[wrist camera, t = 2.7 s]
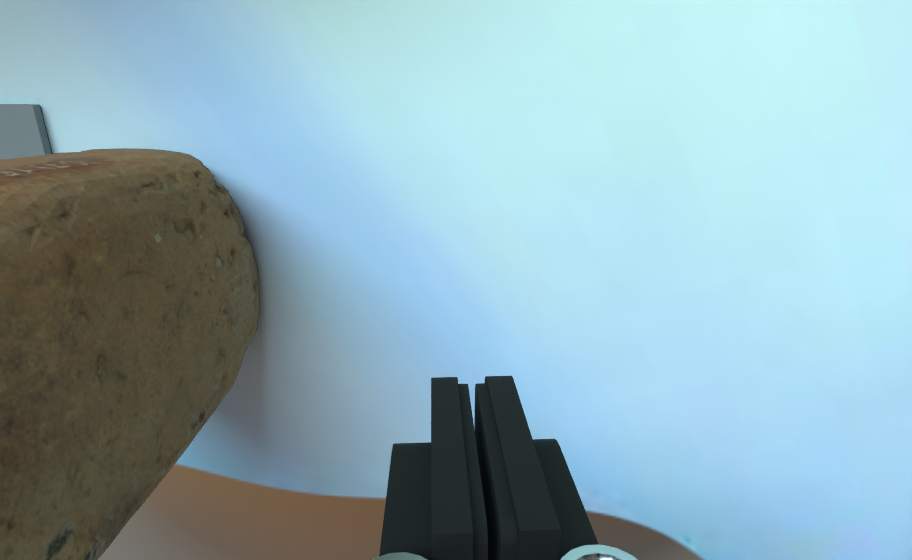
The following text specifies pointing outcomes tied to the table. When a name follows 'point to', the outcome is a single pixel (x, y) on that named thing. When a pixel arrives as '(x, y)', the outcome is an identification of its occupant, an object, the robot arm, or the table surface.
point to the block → (110, 336)
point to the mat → (22, 131)
